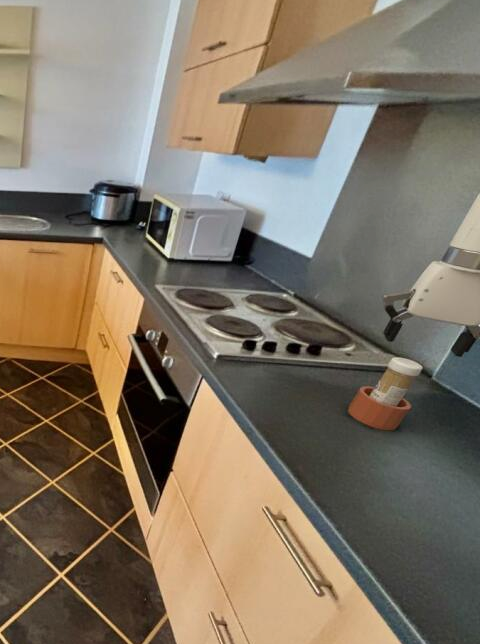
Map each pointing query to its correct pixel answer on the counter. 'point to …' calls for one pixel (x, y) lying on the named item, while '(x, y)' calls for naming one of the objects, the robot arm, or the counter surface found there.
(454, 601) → the counter surface
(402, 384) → the sprinkles bottle
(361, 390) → the holder
